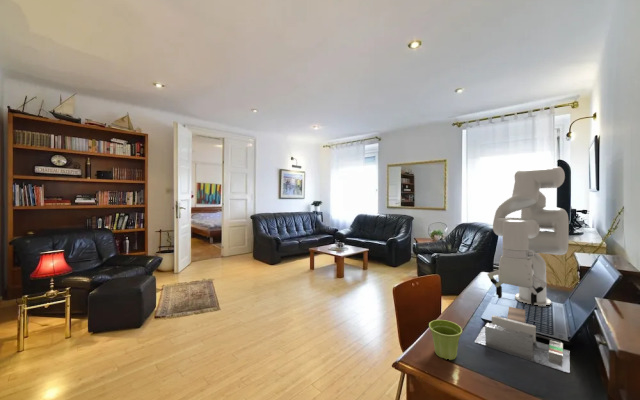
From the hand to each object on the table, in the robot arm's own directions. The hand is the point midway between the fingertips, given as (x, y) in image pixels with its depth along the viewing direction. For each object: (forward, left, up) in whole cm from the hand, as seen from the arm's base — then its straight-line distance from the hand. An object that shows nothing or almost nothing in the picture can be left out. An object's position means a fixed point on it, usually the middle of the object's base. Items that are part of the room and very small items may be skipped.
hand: (515, 300), depth 95 cm
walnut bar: (-1, 0, -10) cm, 10 cm away
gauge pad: (+8, +3, -9) cm, 13 cm away
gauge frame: (+13, +3, -10) cm, 17 cm away
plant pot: (+32, -14, -10) cm, 37 cm away
